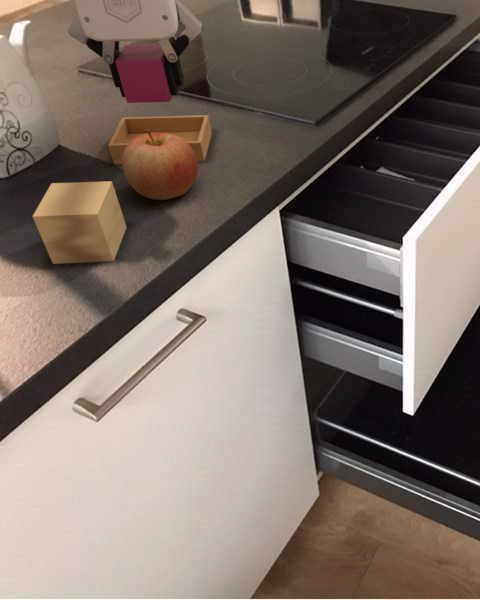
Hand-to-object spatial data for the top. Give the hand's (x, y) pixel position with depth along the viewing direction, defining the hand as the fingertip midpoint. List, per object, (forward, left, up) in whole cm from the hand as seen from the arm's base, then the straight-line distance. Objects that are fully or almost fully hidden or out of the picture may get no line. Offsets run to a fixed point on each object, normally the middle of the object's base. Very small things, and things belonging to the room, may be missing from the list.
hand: (151, 90), depth 79 cm
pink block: (0, 0, 0) cm, 0 cm away
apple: (+2, -11, -8) cm, 13 cm away
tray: (0, 0, -8) cm, 8 cm away
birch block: (-4, -21, -8) cm, 22 cm away
